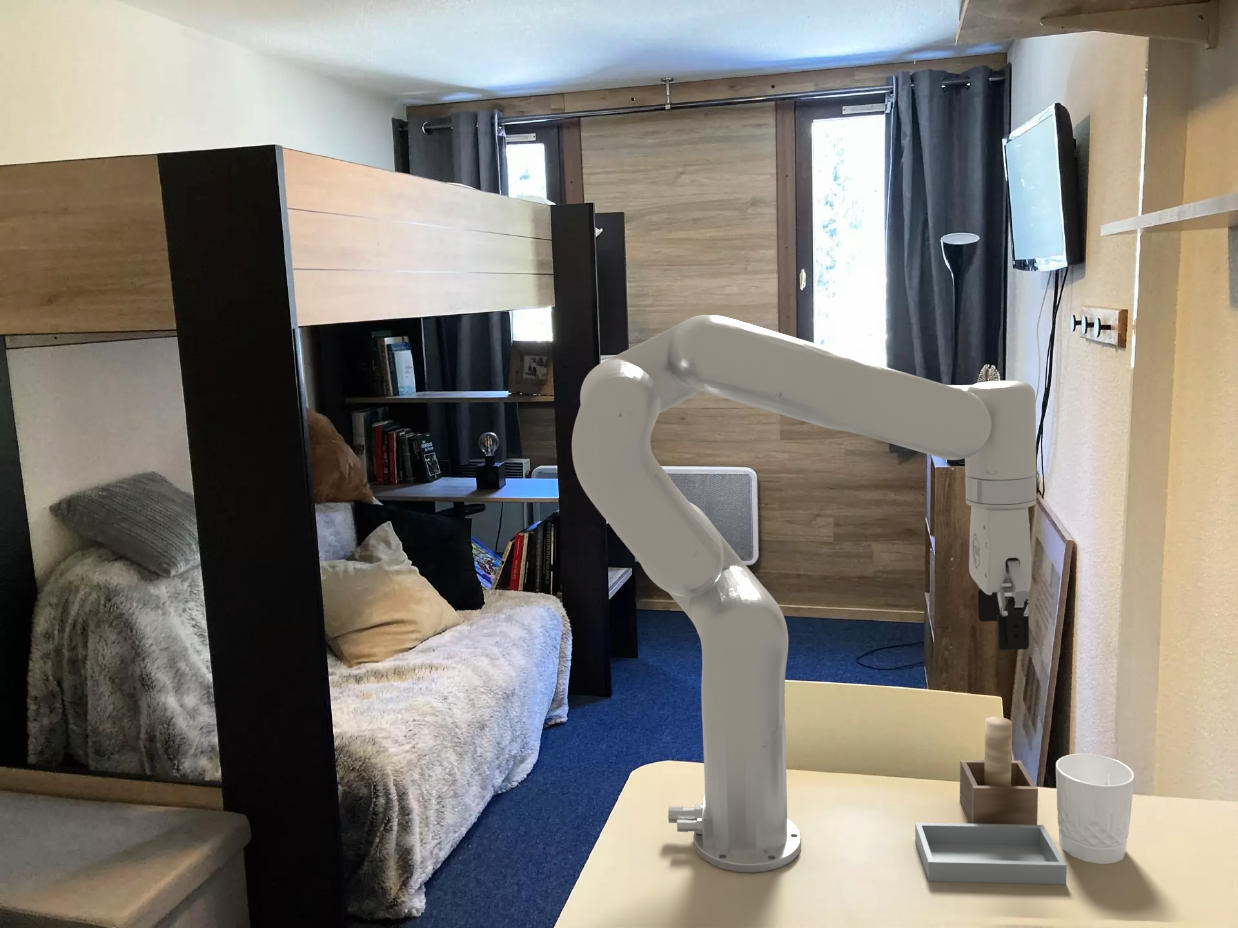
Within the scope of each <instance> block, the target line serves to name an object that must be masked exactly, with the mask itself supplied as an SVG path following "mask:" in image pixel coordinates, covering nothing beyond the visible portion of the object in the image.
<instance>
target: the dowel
mask: <svg viewBox="0 0 1238 928" xmlns="http://www.w3.org/2000/svg"><path fill="white" fill-rule="evenodd" d="M1012 747H1013V722H1012V721H1011V720H1010V719H1008V718H1005V717H1002V716H1001V717H1000V716H989V717H987V718H985V721H984V760H985V767H984V786H1011V761H1013V760H1012V756H1013V755H1012V750H1013V748H1012Z"/></svg>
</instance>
